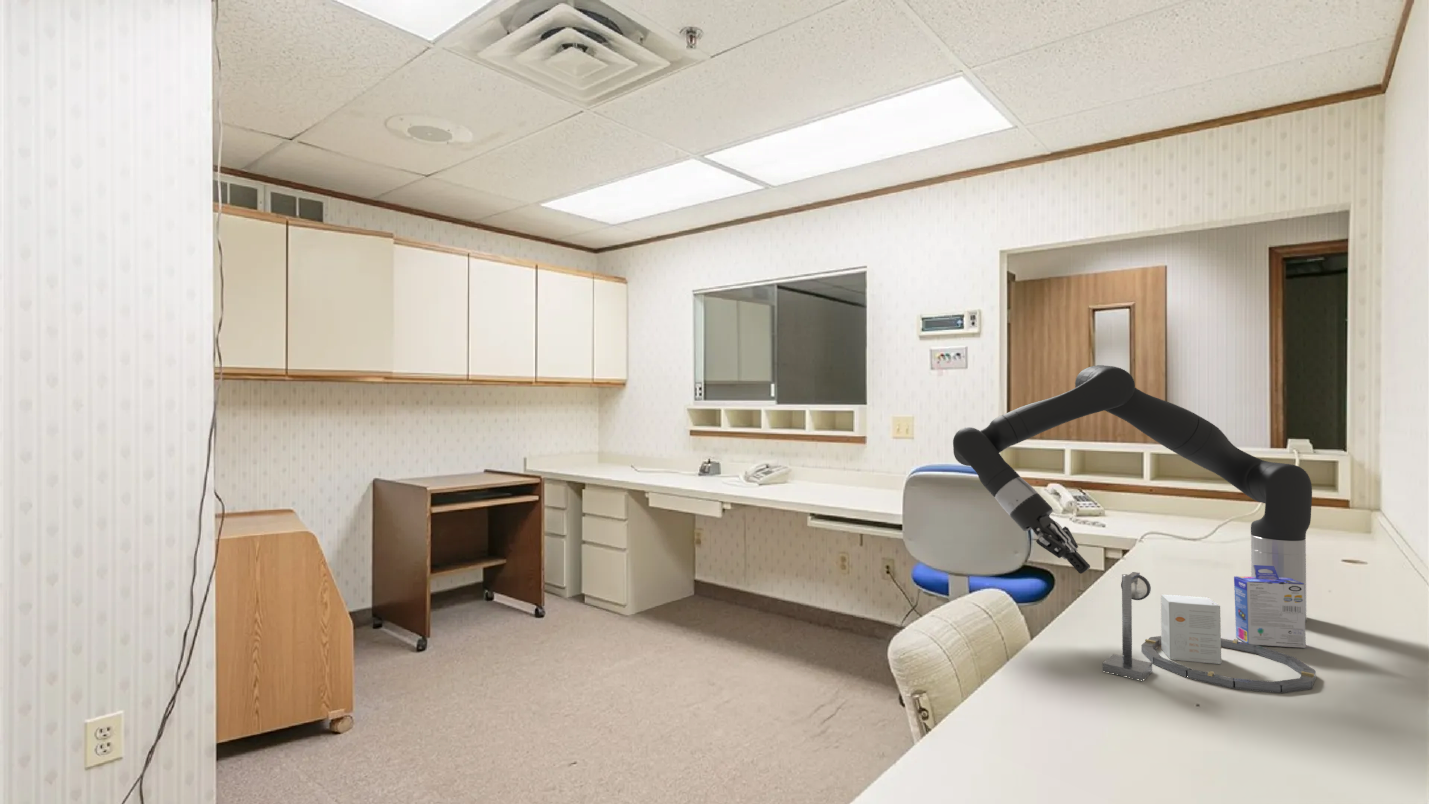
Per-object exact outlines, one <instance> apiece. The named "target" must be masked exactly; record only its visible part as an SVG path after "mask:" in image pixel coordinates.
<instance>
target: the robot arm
mask: <svg viewBox="0 0 1429 804" xmlns="http://www.w3.org/2000/svg"><path fill="white" fill-rule="evenodd" d="M1074 384H1075V385H1074V387H1075V388H1072V389H1070V390H1068V391H1066V392H1064V393H1060V394H1058V395H1055V396H1052V397H1048V398H1046V399H1043V400H1039V401H1035V402H1032V403H1029V404H1026V405H1022V406H1020V407H1018V408H1015V409H1013V410H1011V411H1008V412H1006V413H1004V414H1002V415H999V416H997V417H995V418H994V419H992V421H990V423H989V425H988V426H987V427H985V428H983V429H981V430H979V429H977V428H976V427H975V428H974V427H963V428H960V429H959V430H958V431H956V433H955V435H954V436H953V438H952V439H953V440H952V445H953V446H952V447H953V448H952V449H953V455H954V458H955V460H956V461H957V462H958V463H959V464H961V465H962V466H963V465H964V466H965V467H971V468H972V469H973V470H974V471H975V473H976V474H977V476H978V479H979V481H980V483H981V484H982V485H983V486H984V488H986V490H987V491H988V493H990V494H991V495H992V496H993V498H994V499H995V500H996V501H997V503H998V505H1000V507H1001V508H1002V510H1004V511H1005V513H1007V514H1008V516H1009V517H1010V518H1011V519H1012V521H1014V523H1016V524H1017V526H1019V528H1020V529H1021V530H1022V531H1024V532H1028V531H1030V530H1032V531H1033V533H1034V534H1035V535H1036V537H1037V538H1038V539H1036V540H1035V542H1036V544H1038V545H1039V546H1040V547H1042V548H1043V549H1044V550H1045V551H1048V552H1049V553H1051V554H1052V555H1054V556H1055V557H1057V558H1058V559H1063V560H1066V561H1067V562H1069V564H1070V565H1071V566H1072V567H1073V568H1074V569H1075V570H1076V572H1078V574H1084V573H1085V572H1087V571H1088V570H1089V569H1090V568H1091V565H1090V564H1089V563H1088V561H1087V560H1085V558H1083V556H1082V555H1081V554H1080V553H1079V552H1078V548H1079V544H1078V543H1077V542H1076V539H1075V538H1074V536H1073V535H1072V532H1071V531H1070V529H1069V527H1067V526H1064V527H1062V526H1061V525H1060V524H1059V522H1058V521H1056V520H1054V519H1053V518H1051V516H1050V514H1052V513H1053V511H1054V509H1053V507H1052V506H1051V505H1050V503H1049V502H1047V500H1045V499H1044V498H1043V497H1042V496H1041V495H1040V493H1038V491H1037V490H1036V489H1035V488H1034V487H1033V486H1032V485H1031V484H1029V482H1027V481H1026V480H1025V479H1024V478H1022V476H1020V474H1019V473H1018V472H1017V471H1016V470H1015V469H1014V468H1013V467H1012V466H1011V465H1010V464H1008V463H1007V461H1006V460H1005V459H1004V458H1003V457H1002V455H1001V454H1000V453H1001V452H1003V451H1005V450H1006V449H1007V448H1009V447H1012V446H1014V445H1017V444H1019V443H1022V442H1024V441H1027V440H1029V439H1031V438H1033V437H1036V436H1037V435H1039V434H1041V433H1044V432H1046V431H1048V430H1051V429H1054V428H1055V427H1058V426H1060V425H1064V424H1066V423H1069V422H1071V421H1074V420H1076V419H1080V418H1083V417H1085V416H1089V415H1093V414H1096V413H1099V412H1104V411H1105V412H1107V413H1109V414H1112V415H1113V416H1116V417H1118V418H1120V419H1121V420H1123V421H1125V422H1127V423H1128V424H1130V425H1131V426H1132V427H1134V428H1136V429H1137V430H1139V431H1140V432H1142V433H1143V434H1144V435H1146V436H1147V437H1149V438H1151V439H1152V440H1154V441H1155V442H1157V443H1158V444H1160V445H1162V446H1163V447H1165V448H1166V449H1169V450H1170V451H1172V452H1173V453H1176V454H1177V455H1179V456H1181V457H1182V458H1184V459H1186V460H1188V461H1190V462H1192V463H1194V464H1196V465H1197V466H1200V467H1201V468H1203V469H1204V470H1208V471H1209V472H1212V473H1214V474H1215V475H1217V476H1219V477H1220V478H1222V479H1223V480H1225V481H1226V482H1227V483H1229V484H1231V486H1234V487H1235V488H1236V489H1237V490H1239V492H1241V493H1243V494H1244V495H1245V496H1247V497H1248V498H1250V499H1252V500H1254V501H1255V502H1258V503H1262V504H1264V514H1263V516H1262V517H1261V518H1259V519H1256V520H1254V521H1252V522H1251V524H1250V561H1251V564H1250V565H1251V567H1250V568H1251V569H1250V570H1251V571H1250V572H1251V576H1250V577H1256V575H1255V570H1254V565H1262V566H1274V567H1275V570H1276V572H1277V575H1278V578H1291V579H1293V580H1296V581H1298V582H1301V583H1304V585H1305V622H1307V550H1306V549H1307V547H1306V546H1307V544H1306V543H1307V542H1306V537H1307V535H1306V534H1307V531H1308V529H1309V527H1310V525H1311V521H1312V520H1311V519H1312V502H1313V486H1312V481H1311V478H1310V476H1309V474H1308V472H1307V471H1306V470H1305V469H1304V468H1302V467H1300V466H1298V465H1296V464H1291V463H1285V462H1284V463H1281V462H1273V461H1267V460H1263V459H1260V458H1259V457H1255V456H1254V455H1251V454H1250V453H1247V452H1245V451H1243V450H1241V449H1240V448H1239V447H1236V446H1235V445H1234V444H1233V443H1232V442H1231V441H1230V440H1229V438H1228V437H1227V436H1226V435H1225V434H1224V432H1223V431H1222V430H1221V429H1220V428H1219V427H1218V426H1216V425H1215V424H1214V423H1212V422H1211V421H1209V420H1207V419H1205V418H1204V417H1201V416H1200V415H1198V414H1196V413H1195V412H1193V411H1191V410H1189V409H1186V408H1184V407H1182V406H1180V405H1177V404H1174V403H1172V402H1169V401H1167V400H1164V399H1161V398H1158V397H1156V396H1153V395H1150V394H1148V393H1146V392H1144V391H1141V390H1140V389H1139V388H1137V387H1136V386H1135V385H1136V384H1135V379H1134V378H1133V375H1131V374H1130V373H1129V371H1127V370H1125V369H1123V368H1121V367H1117V366H1114V365H1103V364H1101V365H1100V364H1098V365H1093V366H1088V367H1086V368H1084V369H1082V370H1081V371H1080V372H1079V373H1078V374H1077V376H1076V378H1075V382H1074ZM1258 572H1259V573H1273V572H1272V571H1271V570H1268V569H1261V570H1258Z"/></svg>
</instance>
